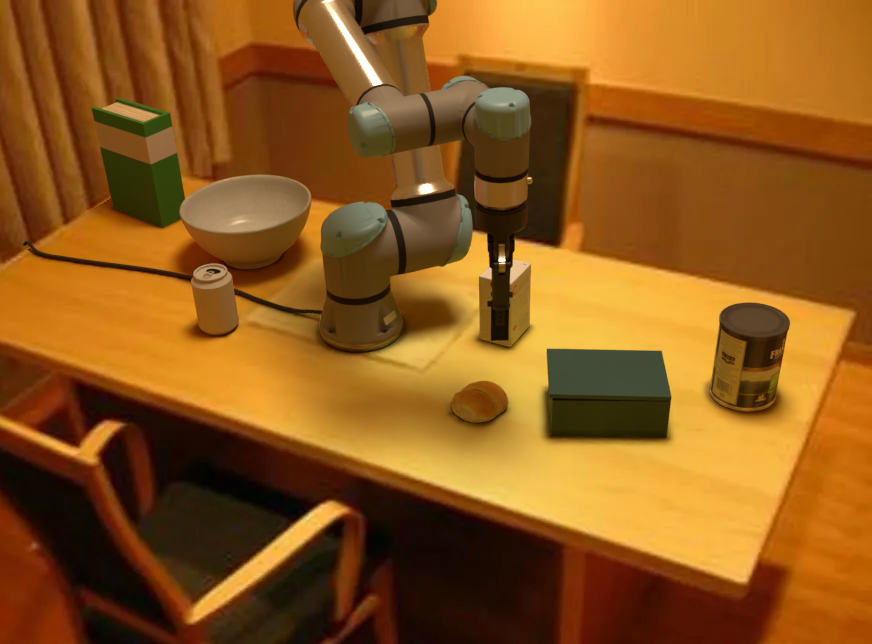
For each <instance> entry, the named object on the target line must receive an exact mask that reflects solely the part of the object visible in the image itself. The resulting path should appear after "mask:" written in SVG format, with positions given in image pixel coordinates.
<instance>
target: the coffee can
mask: <svg viewBox="0 0 872 644" xmlns="http://www.w3.org/2000/svg"><path fill="white" fill-rule="evenodd" d="M718 323H719V325H718V329H717V330H718V331H717V338H716V345H715V351H714V358H713V359H714V360H713V364H712V374H711V380H710V385H709V394H710V397H711V398H712V399H713V400H714V401H715V402H717V404H719V405H721V406H723V407H724V408H727V409H731V410H733V411H739V412H758V411H763V410H765V409H767V408H770V407H771V406H772V405H773V404H774V403H775V402H776V398H777V389H778V385H779V381H780V375H781V369H782V364H783V358H784V352H785V348H786V342H787V336H788V332H789V330H790V326H791V320H790V317H788V315H787V314H786V313H785V312H783V311H782V310H781V309H779V308H777V307H775V306H772V305H769V304H765V303H762V302H761V303H760V302H737V303H733V304H730V305H728V306H726V307H724V308H723V309H722V310H721V311H720V312H719V315H718Z"/></svg>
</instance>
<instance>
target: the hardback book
mask: <svg viewBox="0 0 872 644" xmlns="http://www.w3.org/2000/svg"><path fill="white" fill-rule="evenodd" d="M114 101H115V102H114V103H112V104H109V105H107V106H105V107H102V108H101V107H99V106H98V107H97V106H93V107H91V112H92V116H93V122H94V126H95V131H96V136H97V140H98V144H99V149H100V154H101V159H102V162H103V163H102V164H103V168H104V170H105V171H104V172H105V178H106V181H107V186H108V190H109V195H110V200H111V204H112V209H113V210H116V211H118V212H122V213H124V214H126V215H129V216H131V217H135V218H137V219H139V220H142V221H144V222H147V223H149V224H152V225H155V226H156V227H160V228H161V229H164V228H166V227H167V226H169V225H172V224H174V223H175V222H178V221H180V220H181V217H180V213H179V210H180V206H181V204H182V202H183V201H184V200H185V198H186V197H185V189H184V184H183V179H182V174H181V168H180V161H179V156H178V151H177V150H178V149H177V145H176V140H175V138H176V137H175V134H174V127H173V122H172V116H171V112H169V111H165V110H162V109H159V108H156V107H152V106H149V105H145V104H142V103H139V102H136V101H132V100H128V99H126V98H122V97H119V96H118V97H115V98H114Z"/></svg>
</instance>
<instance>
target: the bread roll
mask: <svg viewBox="0 0 872 644" xmlns="http://www.w3.org/2000/svg"><path fill="white" fill-rule="evenodd" d="M508 406H509V399H508V395H507V393H506V391H505V390H504V389H503V388H502V387H501V386H500V385H499V384H497V383H495V382H494V381H490V380H478V381H475V382H470V383H468V384H467V385H465V386H464V387H463V388H462V389H460V390H459V391H458V392H456V393H455V394H454V395H453V397H452V400H451V405H450V407H451V409H452V412H453V413H454V415H456V416H457V417H459V418H461V419H462V420H464V421H466V422H469V423H473V424H474V423H475V424H479V423H484V422H485V423H486V422H489V421H492V420H493V419H494V418H496V417H497V416H498V415H500V414H502V413H503V412H504V411H505V410H506V409H507V408H508Z"/></svg>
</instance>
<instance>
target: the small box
mask: <svg viewBox="0 0 872 644" xmlns="http://www.w3.org/2000/svg"><path fill="white" fill-rule="evenodd" d="M531 278H532V263H529V262H526V261H523V260H518V259H515V258H513V266H512V268H511V270H510V292H513V298H509V303H510V308H509V340H505V341H491V307H487V301H491V300H492V296H491V292H492V287H491V282H492V269H491V268H490V267H489V266H488V267H487V268H486V269H485V270H484V271H483V272H482V273H481V274H480V275H478V307H479V308H478V309H479V311H478V312H479V313H478V315H479V316H478V319H479V339H480V340H482V341H485V342H489V343H493V344H496V345H501V346H503V347H507V348H511V347H512V346H513V345H514V344H515V343H516V342H517V341H518V340H519V338H521V336H522V335H523V334H524V333H525V332H526V331H527V330H528V328H529V327H530V326H531V287H532V286H531V285H532V281H531V280H532V279H531Z"/></svg>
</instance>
